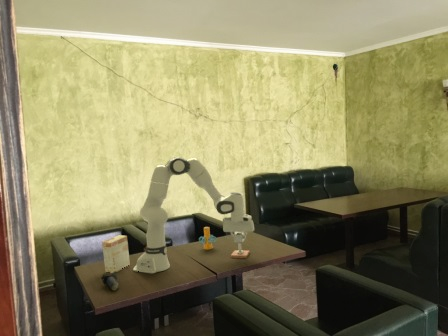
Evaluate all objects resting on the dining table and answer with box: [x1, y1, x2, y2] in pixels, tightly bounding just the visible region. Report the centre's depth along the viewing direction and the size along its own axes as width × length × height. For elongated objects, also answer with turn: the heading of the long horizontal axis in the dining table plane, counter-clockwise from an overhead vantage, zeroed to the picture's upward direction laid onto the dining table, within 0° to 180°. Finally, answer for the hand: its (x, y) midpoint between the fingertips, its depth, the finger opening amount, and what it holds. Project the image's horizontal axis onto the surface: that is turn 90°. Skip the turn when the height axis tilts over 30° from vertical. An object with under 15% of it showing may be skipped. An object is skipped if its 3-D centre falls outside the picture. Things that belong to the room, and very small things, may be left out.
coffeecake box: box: [101, 234, 131, 274], centre depth 230 cm, size 15×7×20 cm, turn 152°
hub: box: [233, 232, 245, 243], centre depth 239 cm, size 6×6×5 cm
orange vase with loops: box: [198, 226, 217, 251], centre depth 258 cm, size 12×10×15 cm
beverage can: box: [100, 271, 120, 291], centre depth 203 cm, size 9×8×12 cm
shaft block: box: [230, 242, 250, 259], centre depth 239 cm, size 10×10×10 cm
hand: (239, 238), depth 239 cm, fingers closed on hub, 6 cm apart
